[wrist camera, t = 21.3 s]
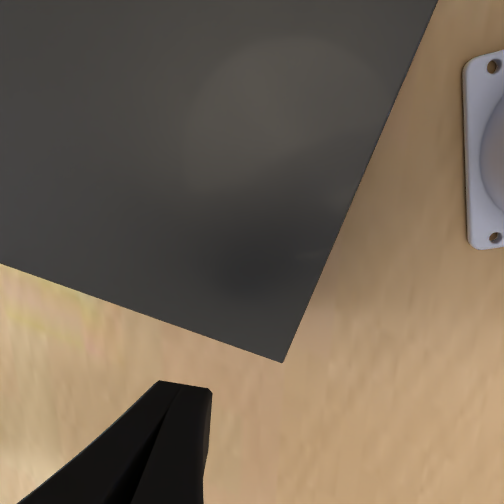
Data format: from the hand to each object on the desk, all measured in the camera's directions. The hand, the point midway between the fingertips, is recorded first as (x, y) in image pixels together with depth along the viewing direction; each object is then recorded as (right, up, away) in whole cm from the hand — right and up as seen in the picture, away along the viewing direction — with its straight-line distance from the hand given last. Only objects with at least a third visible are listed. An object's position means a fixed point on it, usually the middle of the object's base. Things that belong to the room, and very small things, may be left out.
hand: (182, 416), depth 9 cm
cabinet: (-1, +10, +8) cm, 13 cm away
